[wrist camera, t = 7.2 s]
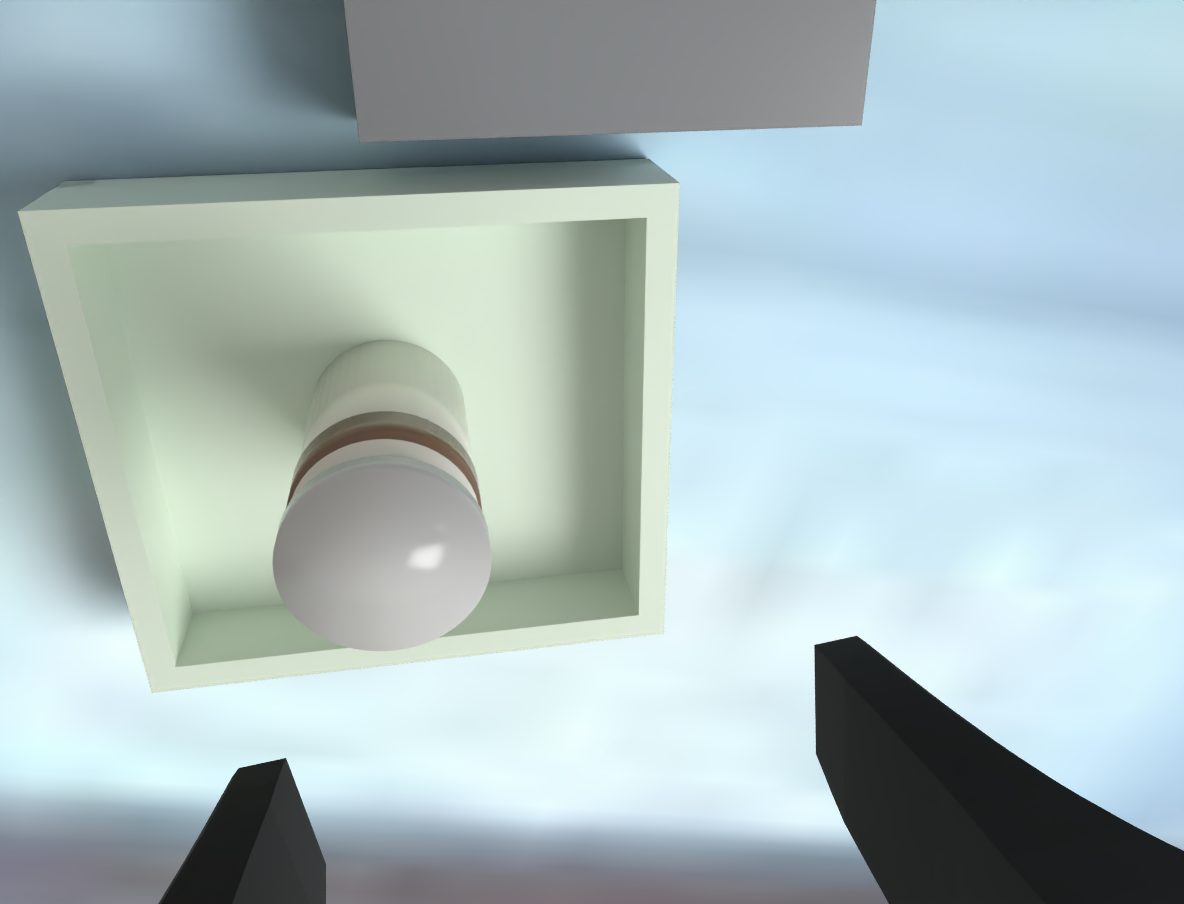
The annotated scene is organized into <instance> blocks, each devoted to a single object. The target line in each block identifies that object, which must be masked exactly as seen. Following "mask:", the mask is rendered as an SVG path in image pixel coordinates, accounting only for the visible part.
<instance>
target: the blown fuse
mask: <svg viewBox="0 0 1184 904" xmlns="http://www.w3.org/2000/svg"><path fill="white" fill-rule="evenodd" d="M491 564H492V554H491V546H490V539H489V532H488V527H487V523H486V520H485V517H484V514H483V512H482V505H481V498H480V491H479V484H478V478H477V474H476V470H475V467H474V465H473V462H472V455H471V447H470V440H469V433H468V426H467V419H466V411H465V404H464V397H463V394H462V390H461V387H460V385H459V383H458V380H457V379H456V377H455V375H454V374H453V372H452V371H451V370H450V369H449V367H448V366H447V365H446V364H445V363H444V362H443V361H442V360H441V359H440V358H438V357H437V356H436V355H434V354H433V353H431V352H429V351H428V350H426V349H424V348H422V347H419V346H417V345H414V344H411V343H407V342H403V341H395V340H379V341H371V342H367V343H363V344H360V345H358V346H355V347H352V348H351V349H349V350H347V351H345V352H343V353H342V354H340V355H339V356H338V357H336V358H335V359H334V360H333V361H332V362H331V363H330V364H329V365H328V366H327V367H326V369H325V370H324V371H323V373H322V374H321V376H320V378H319V379H318V382H317V384H316V387H315V389H314V393H313V398H312V402H311V407H310V412H309V417H308V421H307V426H306V431H305V436H304V440H303V445H302V450H301V455H300V459H299V460H298V463H297V465H296V468H295V470H294V474H293V478H292V483H291V487H290V492H289V497H288V501H287V506H286V509H285V511H284V513H283V516H282V518H281V521H280V524H279V528H278V532H277V536H276V541H275V545H274V550H273V561H272V565H273V575H274V579H275V583H276V587H277V589H278V592H279V594H280V596H281V598H282V600H283V602H284V603H285V605H286V606H287V608H288V609H289V611H290V612H291V613H292V614H293V615H294V616H295V618H296V619H297V620H299V621H300V622H301V623H302V624H303V625H304V626H305V627H307V628H308V629H309V630H311V631H312V632H314V633H315V634H317V635H319V636H321V637H322V638H324V639H326V640H328V641H331V642H333V643H336V644H339V645H342V646H345V647H349V648H353V649H359V650H365V651H395V650H401V649H408V648H411V647H415V646H419V645H422V644H425V643H427V642H430V641H433V640H435V639H437V638H438V637H440V636H442V635H444V634H446V633H447V632H449V631H450V630H452V629H453V628H455V627H456V626H457V625H459V624H460V623H461V622H462V621H463V620H464V619H465V618H466V617H467V616H468V615H469V614H470V613H471V612H472V611H473V610H474V608H475V607H476V605H477V604H478V602H479V601H480V599H481V597H482V596H483V594H484V592H485V590H486V587H487V584H488V581H489V578H490V572H491Z"/></svg>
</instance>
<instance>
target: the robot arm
mask: <svg viewBox="0 0 1184 904" xmlns="http://www.w3.org/2000/svg"><path fill="white" fill-rule="evenodd" d="M815 716H816V755H817V757H818V760H819V762H820V765H821V767H822V770H823V772H824V775H825V777H826V780H827V782H828V785H829V787H830V790H831V792H832V795H833V797H834V799H835V802H836V804H837V806H838V809H839V811H840V814H841V816H842V818H843V821H844V823H845V825H846V826H847V828H848V830H849V832H850V834H851V836H852V838H853V839H854V841H855V843H856V845H857V847H858V849H859V850H860V852H861V854H862V856H863V858H864V859H865V861H866V863H867V865H868V867H869V869H870V870H871V872H872V874H873V876H874V878H875V879H876V881H877V883H878V885H879V887H880V888H881V890H882V892H883V894H884V896H885V897H886V899H887V901H888V903H889V904H1184V851H1183V850H1181V849H1179V848H1176V847H1174V846H1172V845H1170V844H1168V843H1166V842H1164V841H1162V840H1160V839H1158V838H1156V837H1154V836H1152V835H1150V834H1148V833H1146V832H1145V831H1143V830H1141V829H1139V828H1137V827H1135V826H1133V825H1131V824H1129V823H1127V822H1126V821H1124V820H1122V819H1120V818H1119V817H1117V816H1115V815H1113V814H1111V813H1110V812H1108V811H1106V810H1104V809H1103V808H1101V807H1099V806H1097V805H1095V804H1094V803H1092V802H1090V801H1088V800H1087V799H1085V798H1083V797H1081V796H1079V795H1078V794H1076V793H1074V792H1073V791H1071V790H1069V789H1068V788H1066V787H1064V786H1063V785H1061V784H1059V783H1058V782H1056V781H1055V780H1053V779H1051V778H1050V777H1048V776H1047V775H1045V774H1044V773H1042V772H1041V771H1039V770H1038V769H1036V768H1035V767H1033V766H1031V765H1030V764H1028V763H1027V762H1025V761H1024V760H1022V759H1021V758H1019V757H1018V756H1016V755H1015V754H1013V753H1012V752H1010V751H1009V750H1008V749H1006V748H1005V747H1003V746H1002V745H1000V744H999V743H997V742H996V741H994V740H993V739H992V738H990V737H989V736H987V735H986V734H985V733H983V732H982V731H981V730H979V729H978V728H976V727H975V726H974V725H972V724H971V723H970V722H968V721H967V720H965V719H964V718H963V717H961V716H960V715H958V714H957V713H956V712H954V711H953V710H952V709H950V708H949V707H948V706H946V705H945V704H944V703H942V702H941V701H940V700H938V699H937V698H936V697H934V696H933V695H932V694H931V693H929V692H928V691H927V690H925V689H924V688H923V687H922V686H920V685H919V684H918V683H916V682H915V681H914V680H913V679H911V678H910V677H909V676H908V675H906V674H905V673H904V672H902V671H901V670H900V669H899V668H897V667H896V666H895V665H894V664H892V663H891V662H890V661H889V660H887V659H886V658H885V657H884V656H882V655H881V654H880V653H879V652H877V651H876V650H875V649H874V648H872V647H871V646H870V645H869V644H867V643H866V642H865V641H863V640H862V639H861V638H859V637H858V636H854V637H849V638H845V639H840V640H835V641H831V642H826V643H821V644H817V645H815ZM159 904H326V863H325V861H324V858H323V855H322V853H321V850H320V847H319V845H318V842H317V839H316V837H315V834H314V831H313V829H312V826H311V823H310V821H309V818H308V815H307V813H306V810H305V807H304V805H303V802H302V799H301V797H300V794H299V791H298V789H297V786H296V784H295V781H294V778H293V776H292V773H291V770H290V768H289V765H288V762H287V760H286V758H284V759H280V760H275V761H270V762H266V763H261V764H256V765H252V766H247V767H242V768H239V769H238V770H237V771H236V773H235V774H234V775H233V777H232V778H231V780H230V782H229V784H228V785H227V787H226V789H225V791H224V793H223V794H222V796H221V798H220V800H219V802H218V803H217V805H216V807H215V809H214V810H213V812H212V814H211V816H210V818H209V819H208V821H207V823H206V825H205V826H204V828H203V830H202V832H201V833H200V835H199V837H198V839H197V840H196V842H195V844H194V845H193V847H192V849H191V851H190V852H189V854H188V856H187V857H186V859H185V861H184V863H183V864H182V866H181V868H180V869H179V871H178V873H177V874H176V876H175V877H174V879H173V881H172V882H171V884H170V886H169V887H168V889H167V891H166V892H165V894H164V895H163V897H162V899H161V900H160V902H159Z"/></svg>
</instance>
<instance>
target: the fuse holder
mask: <svg viewBox="0 0 1184 904" xmlns="http://www.w3.org/2000/svg"><path fill="white" fill-rule="evenodd" d="M343 1H344V10H345V19H346V27H347V36H348V45H349V54H350V63H351V72H352V81H353V90H354V98H355V107H356V116H357V125H358V134H359V143H360V142H389V141H418V140H447V139H476V138H506V137H535V136H564V135H593V134H622V133H651V132H681V131H710V130H739V129H768V128H797V127H826V126H855V125H862V118H863V109H864V101H865V92H866V84H867V75H868V67H869V58H870V50H871V41H872V32H873V24H874V15H875V7H876V0H343Z"/></svg>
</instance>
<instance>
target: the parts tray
mask: <svg viewBox="0 0 1184 904" xmlns="http://www.w3.org/2000/svg"><path fill="white" fill-rule="evenodd" d="M679 186H680V183H679V182H678V181H676V180H675V179H674V178H673V177H671V176H670V175H669V174H668V173H666V172H665V171H664V170H662V169H661V168H660V167H659V166H657V165H656V164H655V163H654V162H652V161H651V160H650V159H626V160H600V161H574V162H548V163H522V164H496V165H470V166H444V167H418V168H392V169H366V170H340V171H314V172H288V173H262V174H236V175H210V176H184V177H158V178H132V179H106V180H81V181H64V182H63V183H61V184H60V185H58V186H57V187H55V188H53V189H52V190H50V191H49V192H47V193H46V194H44V195H42V196H41V197H39V198H38V199H36V200H35V201H33V202H31V203H30V204H28V205H27V206H25V207H24V208H22V209H20V210H19V211H18V215H19V218H20V222H21V225H22V229H23V233H24V236H25V240H26V243H27V247H28V250H29V254H30V258H31V261H32V265H33V268H34V272H35V276H36V279H37V283H38V286H39V290H40V294H41V297H42V301H43V304H44V308H45V311H46V315H47V319H48V322H49V326H50V329H51V333H52V337H53V340H54V344H55V347H56V351H57V355H58V358H59V362H60V365H61V369H62V372H63V376H64V380H65V383H66V387H67V390H68V394H69V398H70V401H71V405H72V408H73V412H74V416H75V419H76V423H77V426H78V430H79V434H80V437H81V441H82V444H83V448H84V451H85V455H86V459H87V462H88V466H89V469H90V473H91V477H92V480H93V484H94V487H95V491H96V495H97V498H98V502H99V505H100V509H101V512H102V516H103V520H104V523H105V527H106V530H107V534H108V538H109V541H110V545H111V548H112V552H113V556H114V559H115V563H116V566H117V570H118V573H119V577H120V581H121V584H122V588H123V591H124V595H125V599H126V602H127V606H128V609H129V613H130V617H131V620H132V624H133V627H134V631H135V634H136V638H137V642H138V645H139V649H140V652H141V656H142V660H143V663H144V667H145V670H146V674H147V678H148V681H149V685H150V688H151V692H152V693H154V692H163V691H171V690H180V689H189V688H197V687H206V686H215V685H223V684H232V683H240V682H249V681H258V680H266V679H275V678H284V677H292V676H301V675H309V674H318V673H327V672H335V671H344V670H353V669H361V668H370V667H378V666H387V665H396V664H404V663H413V662H422V661H430V660H439V659H448V658H456V657H465V656H473V655H482V654H491V653H499V652H508V651H517V650H525V649H534V648H542V647H551V646H560V645H568V644H577V643H586V642H594V641H603V640H611V639H620V638H629V637H637V636H646V635H655V634H663V633H664V613H665V585H666V556H667V528H668V499H669V471H670V442H671V414H672V385H673V357H674V328H675V300H676V271H677V243H678V214H679ZM379 340H395V341H403V342H407V343H411V344H414V345H417V346H419V347H422V348H424V349H426V350H428V351H429V352H431V353H433V354H434V355H436V356H437V357H438V358H440V359H441V360H442V361H443V362H444V363H445V364H446V365H447V366H448V367H449V369H450V370H451V371H452V372H453V374H454V375H455V377H456V379H457V380H458V383H459V385H460V387H461V390H462V394H463V397H464V404H465V411H466V419H467V426H468V433H469V440H470V447H471V455H472V462H473V465H474V467H475V470H476V474H477V478H478V484H479V491H480V498H481V505H482V512H483V514H484V517H485V520H486V523H487V527H488V532H489V539H490V546H491V554H492V564H491V572H490V578H489V581H488V584H487V587H486V590H485V592H484V594H483V596H482V597H481V599H480V601H479V602H478V604H477V605H476V607H475V608H474V610H473V611H472V612H471V613H470V614H469V615H468V616H467V617H466V618H465V619H464V620H463V621H462V622H461V623H460V624H459V625H457V626H456V627H455V628H453V629H452V630H450V631H449V632H447V633H446V634H444V635H442V636H440V637H438V638H437V639H435V640H433V641H430V642H427V643H425V644H422V645H419V646H415V647H411V648H408V649H401V650H395V651H365V650H359V649H353V648H349V647H345V646H342V645H339V644H336V643H333V642H331V641H328V640H326V639H324V638H322V637H321V636H319V635H317V634H315V633H314V632H312V631H311V630H309V629H308V628H307V627H305V626H304V625H303V624H302V623H301V622H300V621H299V620H297V619H296V618H295V616H294V615H293V614H292V613H291V612H290V611H289V609H288V608H287V606H286V605H285V603H284V602H283V600H282V598H281V596H280V594H279V592H278V589H277V587H276V583H275V579H274V575H273V565H272V561H273V550H274V545H275V541H276V536H277V532H278V528H279V524H280V521H281V518H282V516H283V513H284V511H285V509H286V506H287V501H288V497H289V492H290V487H291V483H292V478H293V474H294V470H295V468H296V465H297V463H298V460H299V459H300V455H301V450H302V445H303V440H304V436H305V431H306V426H307V421H308V417H309V412H310V407H311V402H312V398H313V393H314V389H315V387H316V384H317V382H318V379H319V378H320V376H321V374H322V373H323V371H324V370H325V369H326V367H327V366H328V365H329V364H330V363H331V362H332V361H333V360H334V359H335V358H336V357H338V356H339V355H340V354H342V353H343V352H345V351H347V350H349V349H351V348H352V347H355V346H358V345H360V344H363V343H367V342H371V341H379Z"/></svg>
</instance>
